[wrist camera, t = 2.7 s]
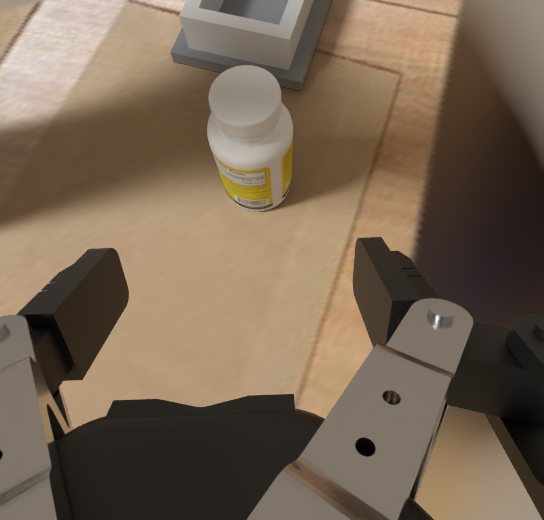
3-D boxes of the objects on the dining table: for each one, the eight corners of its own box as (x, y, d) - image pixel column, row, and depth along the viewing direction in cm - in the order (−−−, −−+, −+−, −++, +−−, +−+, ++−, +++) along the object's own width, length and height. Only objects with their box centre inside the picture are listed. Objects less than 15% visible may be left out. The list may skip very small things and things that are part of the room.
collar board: (173, 61, 32) (158, 20, 28) (214, -25, 34) (205, -73, 31) (301, 91, 30) (304, 52, 27) (332, -2, 33) (338, -49, 29)
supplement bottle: (267, 142, 29) (260, 38, 20) (304, 190, 28) (316, 104, 18) (212, 174, 28) (177, 83, 19) (247, 226, 27) (229, 155, 18)
